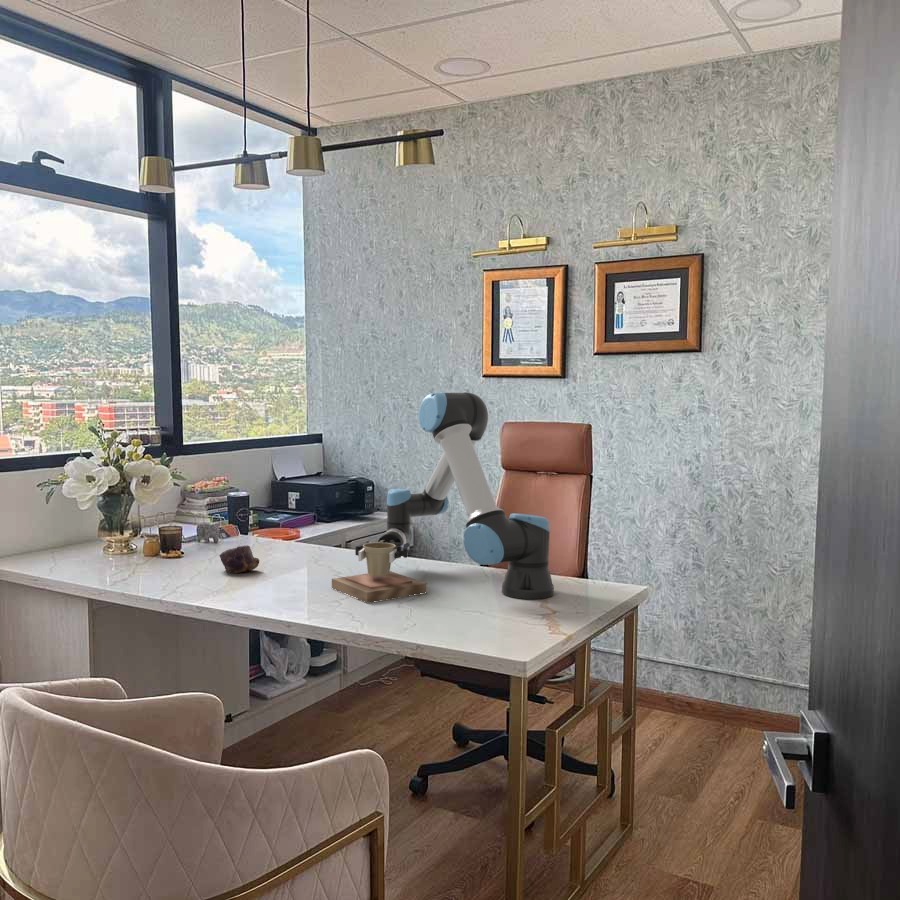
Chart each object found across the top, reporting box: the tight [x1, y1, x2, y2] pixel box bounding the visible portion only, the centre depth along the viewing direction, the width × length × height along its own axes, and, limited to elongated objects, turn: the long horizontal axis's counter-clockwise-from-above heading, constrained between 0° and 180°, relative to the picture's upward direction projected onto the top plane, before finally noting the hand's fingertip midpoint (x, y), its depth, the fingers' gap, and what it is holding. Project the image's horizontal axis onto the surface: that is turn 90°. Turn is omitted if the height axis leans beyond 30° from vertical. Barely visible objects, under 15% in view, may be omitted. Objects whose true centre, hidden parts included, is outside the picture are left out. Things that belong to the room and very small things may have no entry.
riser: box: [331, 570, 427, 603], centre depth 245 cm, size 20×20×4 cm
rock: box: [219, 545, 260, 574], centre depth 267 cm, size 12×9×10 cm
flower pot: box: [363, 541, 395, 576], centre depth 244 cm, size 9×9×9 cm
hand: (375, 557), depth 239 cm, fingers closed on flower pot, 8 cm apart
